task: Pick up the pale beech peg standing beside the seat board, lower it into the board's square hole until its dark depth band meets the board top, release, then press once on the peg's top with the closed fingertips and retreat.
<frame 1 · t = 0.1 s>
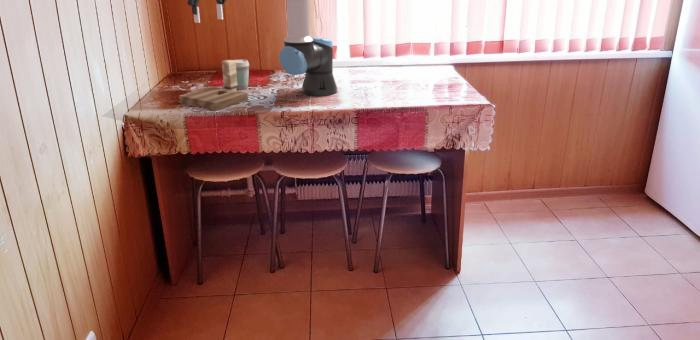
hand: (209, 20, 226), 28 cm above the table, fingers open, 13 cm apart
board: (214, 101, 208), on the table
peg: (231, 93, 220), on the table
coffee cup: (241, 88, 229), on the table
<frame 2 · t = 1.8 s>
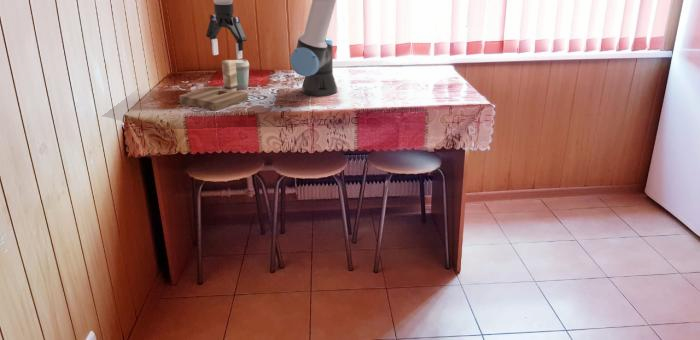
hand: (227, 56, 214), 16 cm above the table, fingers open, 13 cm apart
nothing on the table moved.
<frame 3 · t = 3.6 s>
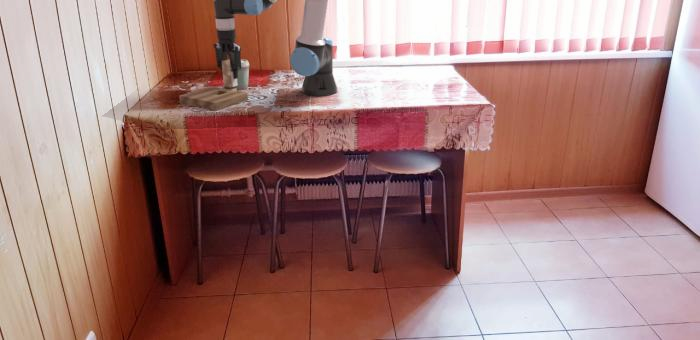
hand: (230, 85, 219), 4 cm above the table, fingers closed on peg, 4 cm apart
peg: (231, 93, 220), on the table, touching gripper
everything else where it was.
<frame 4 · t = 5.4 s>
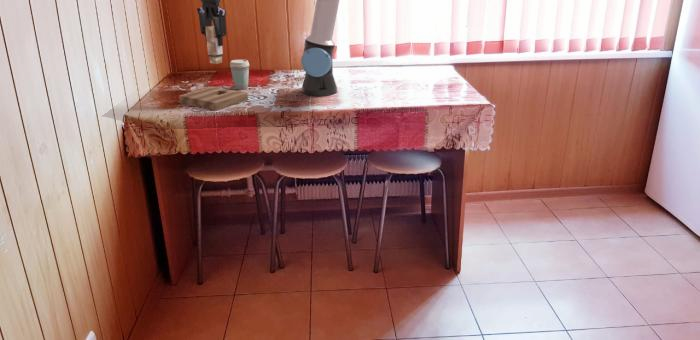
hand: (215, 53, 204), 19 cm above the table, fingers closed on peg, 4 cm apart
peg: (216, 62, 205), point 15 cm above the table, touching gripper
everything else where it was.
when the fingers open (4 cm above the table, at t = 7.6 s): peg stays where it is, resting in board.
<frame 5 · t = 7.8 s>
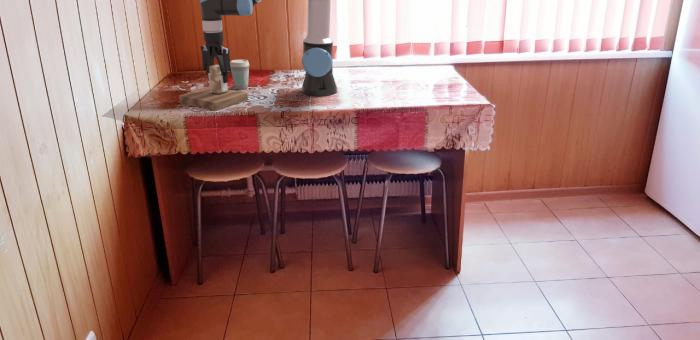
hand: (218, 89, 209), 4 cm above the table, fingers open, 6 cm apart
peg: (219, 99, 211), resting in board
everything else where it was.
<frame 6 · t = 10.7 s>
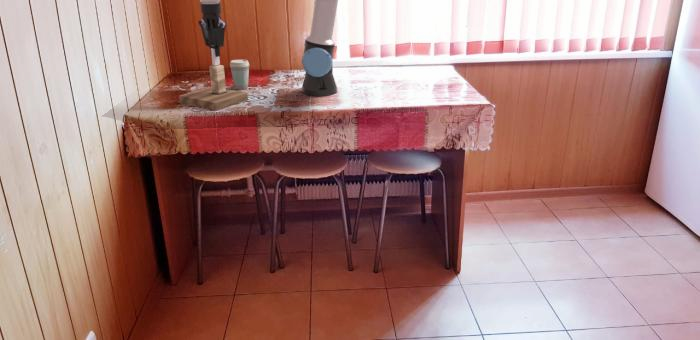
hand: (216, 64, 205), 15 cm above the table, fingers closed
nothing on the table moved.
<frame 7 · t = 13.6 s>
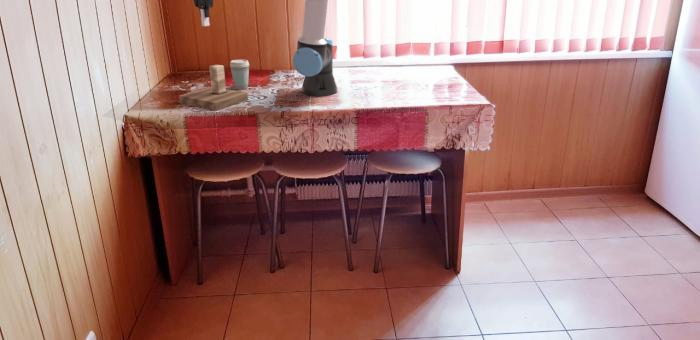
hand: (205, 25, 208), 28 cm above the table, fingers closed
nothing on the table moved.
at the end: peg 0.0 cm from the target spot in the board, point 0.0 cm above the board's base; peg tilted 0°; the gripper is holding nothing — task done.
